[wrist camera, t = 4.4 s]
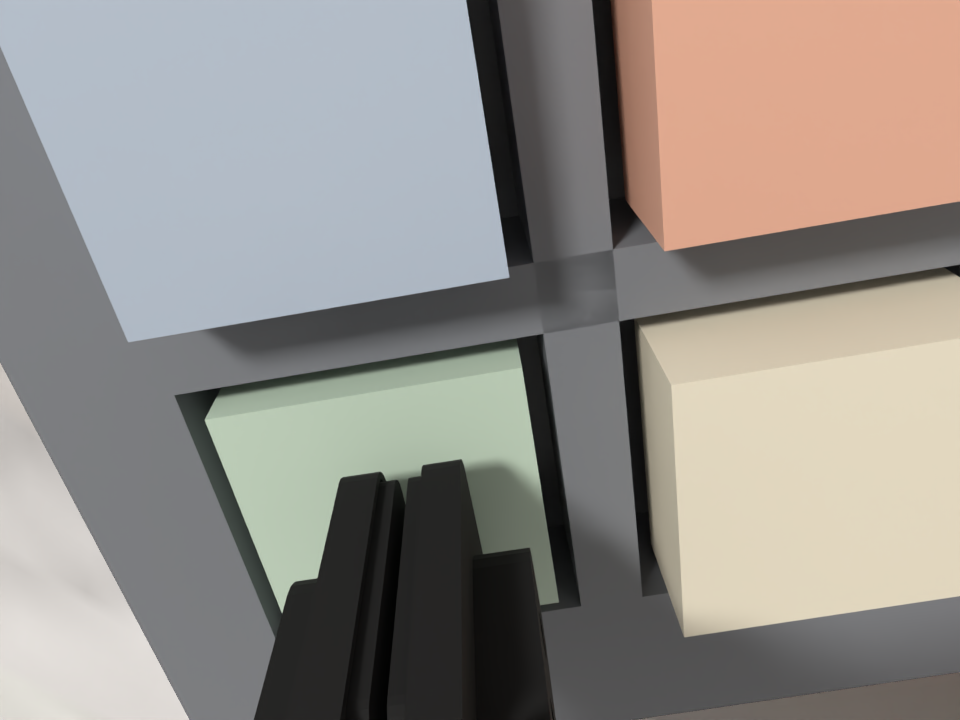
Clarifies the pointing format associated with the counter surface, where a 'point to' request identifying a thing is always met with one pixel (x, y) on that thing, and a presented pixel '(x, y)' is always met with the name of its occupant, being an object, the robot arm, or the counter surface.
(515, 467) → the sage key
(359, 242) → the slate key
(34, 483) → the counter surface
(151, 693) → the counter surface
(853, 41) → the terracotta key
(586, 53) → the keypad
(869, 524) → the sand key
